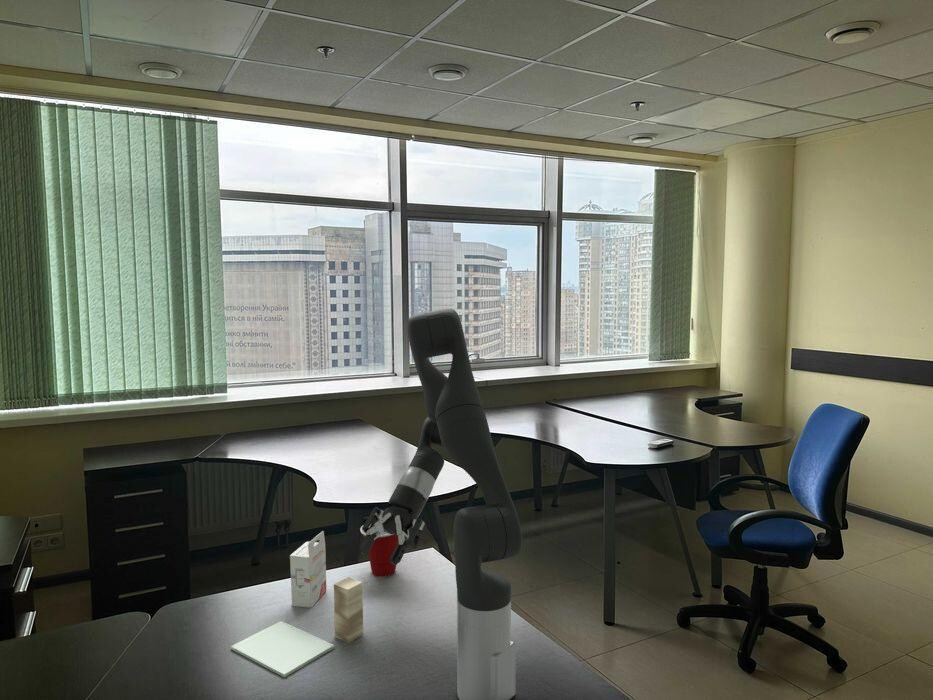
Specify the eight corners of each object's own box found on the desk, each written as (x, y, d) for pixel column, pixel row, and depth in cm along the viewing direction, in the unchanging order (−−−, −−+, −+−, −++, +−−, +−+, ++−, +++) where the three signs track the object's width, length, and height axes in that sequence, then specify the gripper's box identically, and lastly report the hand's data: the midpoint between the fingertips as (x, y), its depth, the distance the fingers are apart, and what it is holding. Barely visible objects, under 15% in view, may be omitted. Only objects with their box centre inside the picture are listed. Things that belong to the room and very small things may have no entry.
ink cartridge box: (307, 589, 152) (305, 528, 151) (327, 591, 151) (325, 529, 150) (290, 606, 144) (288, 542, 142) (311, 608, 143) (309, 543, 141)
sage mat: (334, 648, 127) (334, 645, 127) (284, 677, 117) (284, 674, 117) (281, 623, 136) (281, 620, 136) (231, 649, 127) (231, 646, 126)
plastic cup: (355, 567, 164) (354, 521, 163) (396, 560, 169) (395, 515, 167) (367, 585, 154) (367, 536, 153) (410, 576, 159) (410, 529, 158)
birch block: (363, 634, 132) (362, 582, 131) (348, 643, 129) (347, 589, 128) (349, 628, 134) (348, 577, 133) (334, 636, 131) (333, 584, 130)
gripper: (380, 477, 147) (344, 542, 139) (429, 489, 139) (393, 558, 131) (396, 494, 152) (362, 558, 144) (444, 506, 144) (411, 574, 135)
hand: (377, 558), depth 137 cm, fingers open, 8 cm apart
